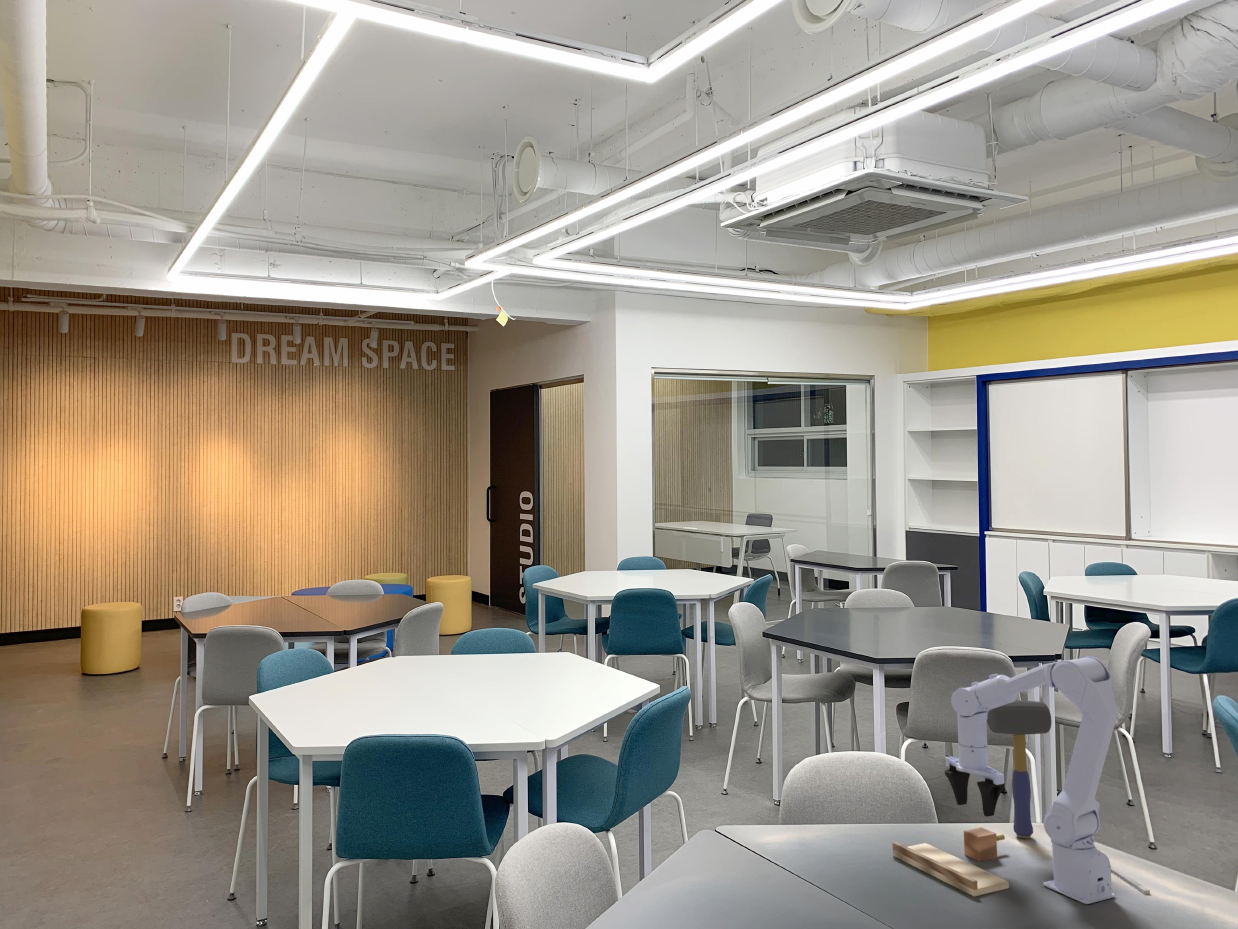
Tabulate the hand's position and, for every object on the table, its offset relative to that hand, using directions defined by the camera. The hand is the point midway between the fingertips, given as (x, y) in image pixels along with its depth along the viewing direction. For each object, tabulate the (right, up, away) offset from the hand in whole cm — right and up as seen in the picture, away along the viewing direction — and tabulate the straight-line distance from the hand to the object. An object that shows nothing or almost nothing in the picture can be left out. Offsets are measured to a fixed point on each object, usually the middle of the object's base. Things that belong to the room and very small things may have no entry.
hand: (975, 809), depth 180 cm
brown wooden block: (+3, -10, 0) cm, 10 cm away
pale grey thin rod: (+24, -9, -14) cm, 29 cm away
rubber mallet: (+15, -10, +10) cm, 20 cm away
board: (-9, -9, -8) cm, 15 cm away
